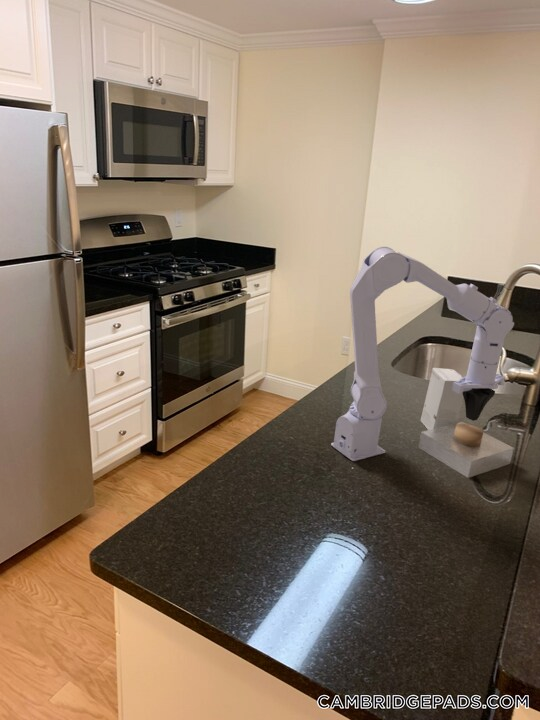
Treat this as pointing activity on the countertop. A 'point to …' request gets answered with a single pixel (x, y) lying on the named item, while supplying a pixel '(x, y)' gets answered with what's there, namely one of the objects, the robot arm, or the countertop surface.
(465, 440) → the pin
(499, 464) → the block
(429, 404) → the skincare box
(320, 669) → the countertop surface
